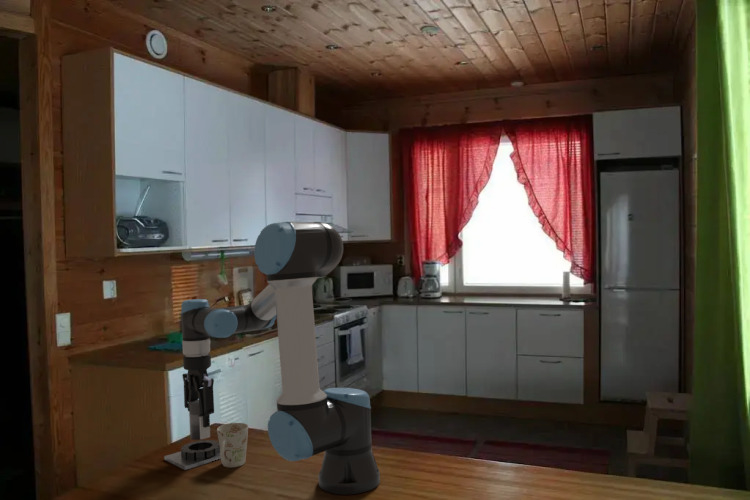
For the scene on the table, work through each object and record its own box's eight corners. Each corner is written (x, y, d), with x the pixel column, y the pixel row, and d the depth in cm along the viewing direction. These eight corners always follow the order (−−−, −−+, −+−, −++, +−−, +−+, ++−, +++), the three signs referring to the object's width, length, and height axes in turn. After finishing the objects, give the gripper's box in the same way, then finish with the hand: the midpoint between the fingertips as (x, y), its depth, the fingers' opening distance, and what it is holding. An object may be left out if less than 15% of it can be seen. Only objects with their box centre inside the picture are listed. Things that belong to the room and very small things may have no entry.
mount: (236, 453, 175) (236, 443, 175) (185, 470, 163) (184, 459, 163) (215, 444, 183) (214, 434, 183) (164, 459, 172) (164, 449, 172)
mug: (253, 458, 171) (252, 422, 171) (239, 475, 158) (237, 437, 158) (224, 458, 172) (223, 422, 171) (207, 475, 159) (206, 437, 159)
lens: (212, 436, 173) (211, 401, 173) (196, 441, 170) (194, 405, 169) (203, 432, 177) (202, 398, 176) (187, 437, 173) (185, 402, 173)
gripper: (225, 355, 169) (228, 439, 169) (193, 348, 182) (196, 426, 182) (200, 360, 164) (204, 446, 164) (169, 352, 176) (172, 432, 177)
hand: (200, 435), depth 173 cm, fingers closed on lens, 5 cm apart
